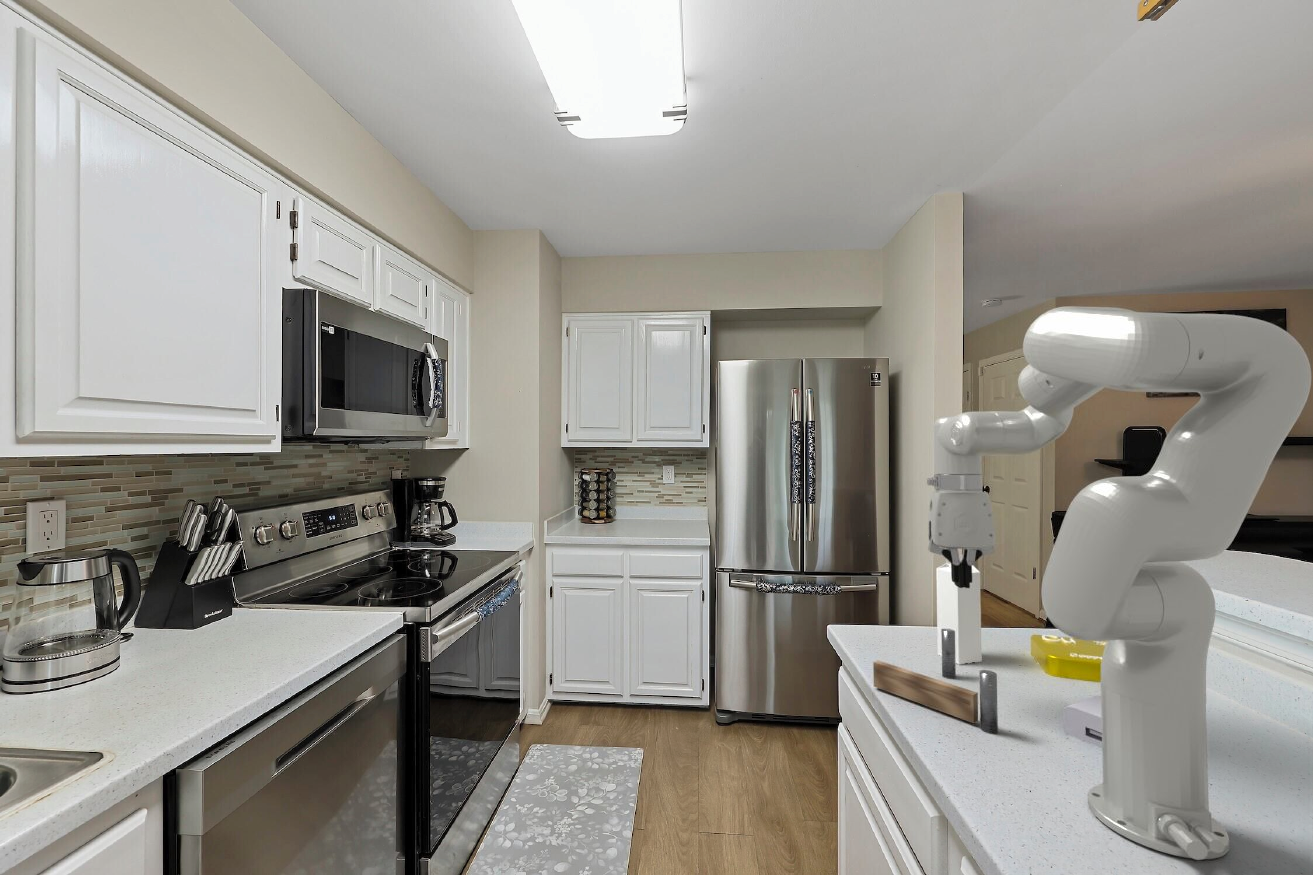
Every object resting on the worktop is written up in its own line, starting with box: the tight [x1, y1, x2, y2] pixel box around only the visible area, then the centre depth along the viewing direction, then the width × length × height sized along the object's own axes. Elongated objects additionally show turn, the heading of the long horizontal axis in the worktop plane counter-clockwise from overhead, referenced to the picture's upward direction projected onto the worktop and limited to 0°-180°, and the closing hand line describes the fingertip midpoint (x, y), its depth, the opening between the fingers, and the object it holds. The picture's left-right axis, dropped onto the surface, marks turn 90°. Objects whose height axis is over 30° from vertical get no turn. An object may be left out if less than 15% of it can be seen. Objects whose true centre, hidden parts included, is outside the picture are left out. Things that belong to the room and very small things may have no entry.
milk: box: [935, 554, 983, 666], centre depth 122 cm, size 6×6×22 cm
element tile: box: [1030, 634, 1107, 683], centre depth 116 cm, size 15×15×5 cm
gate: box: [872, 659, 979, 724], centre depth 99 cm, size 18×2×4 cm, turn 36°
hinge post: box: [979, 669, 999, 734], centre depth 91 cm, size 2×2×9 cm
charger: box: [1062, 695, 1102, 749], centre depth 89 cm, size 5×9×15 cm
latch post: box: [941, 629, 957, 680], centre depth 112 cm, size 2×2×9 cm
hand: (962, 586), depth 102 cm, fingers closed
